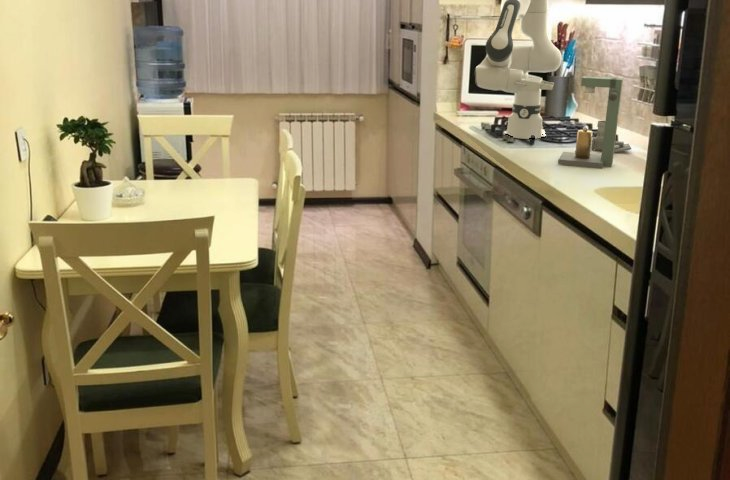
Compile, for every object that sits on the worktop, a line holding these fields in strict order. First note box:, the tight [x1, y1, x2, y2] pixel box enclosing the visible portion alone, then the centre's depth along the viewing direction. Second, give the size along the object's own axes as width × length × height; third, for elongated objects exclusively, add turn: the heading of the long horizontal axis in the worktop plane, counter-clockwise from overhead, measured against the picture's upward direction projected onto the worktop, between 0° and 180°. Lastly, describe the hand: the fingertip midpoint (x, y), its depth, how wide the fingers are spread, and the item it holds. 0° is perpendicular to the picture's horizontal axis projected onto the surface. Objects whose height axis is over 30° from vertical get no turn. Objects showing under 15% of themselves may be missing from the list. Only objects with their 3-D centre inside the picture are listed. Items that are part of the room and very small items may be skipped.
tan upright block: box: [574, 126, 594, 159], centre depth 283 cm, size 5×5×12 cm
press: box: [557, 75, 624, 169], centre depth 277 cm, size 20×19×32 cm
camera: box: [591, 120, 632, 153], centre depth 303 cm, size 9×12×15 cm
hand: (553, 86), depth 283 cm, fingers open, 8 cm apart
